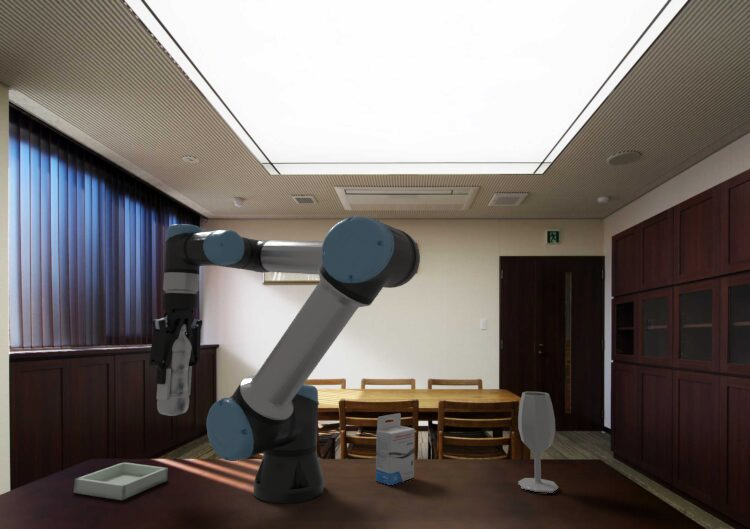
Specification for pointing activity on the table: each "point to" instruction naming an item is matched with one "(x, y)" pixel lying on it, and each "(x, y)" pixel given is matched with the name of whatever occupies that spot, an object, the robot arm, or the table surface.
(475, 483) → the table surface
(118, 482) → the tray
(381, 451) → the ink box
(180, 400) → the plastic bottle
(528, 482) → the wineglass
